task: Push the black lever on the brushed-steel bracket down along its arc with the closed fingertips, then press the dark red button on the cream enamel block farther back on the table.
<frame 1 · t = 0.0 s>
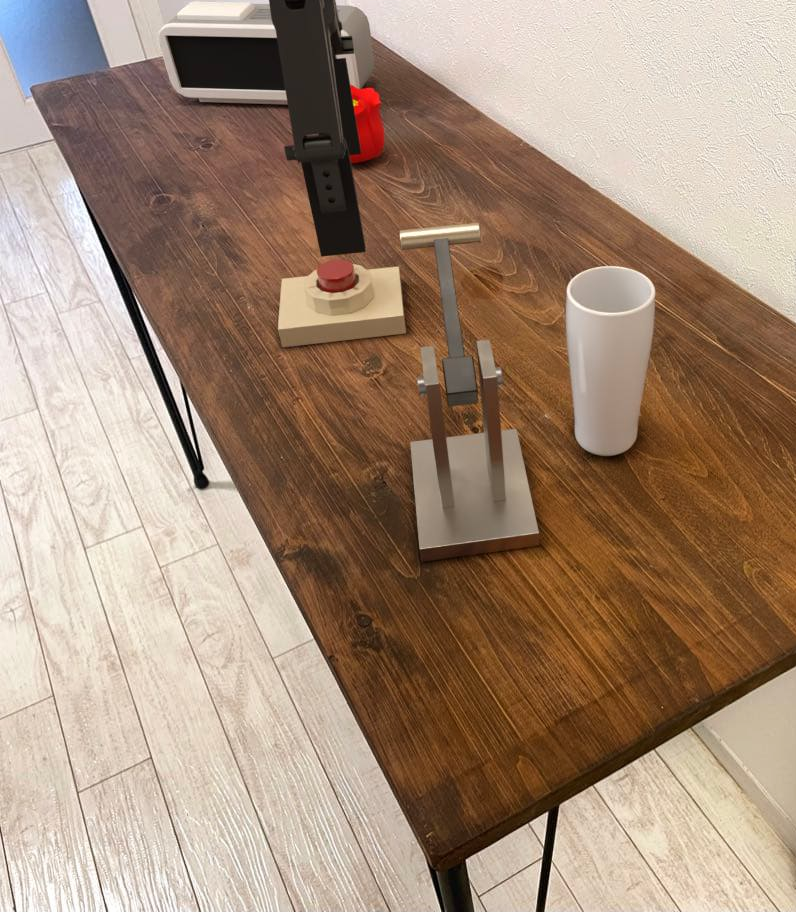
hand: (342, 199, 62), 24 cm above the table, tool pointing down, fingers open, 13 cm apart
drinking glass: (605, 439, 79), on the table
lever: (450, 310, 68), point 15 cm above the table, hinge at 28.0°
bracket: (472, 497, 74), on the table
flower: (358, 160, 119), on the table
button block: (344, 314, 93), on the table
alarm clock: (279, 96, 134), on the table
button: (336, 276, 90), point 4 cm above the table, slide at 0.1 cm
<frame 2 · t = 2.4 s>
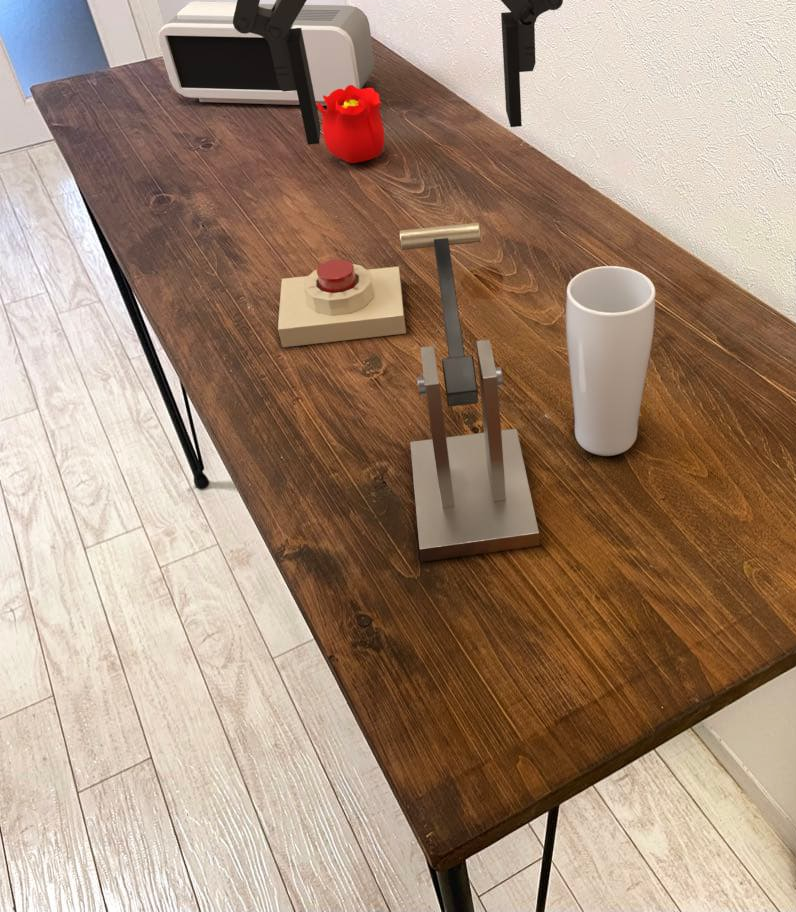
hand: (415, 127, 63), 26 cm above the table, tool pointing down, fingers open, 13 cm apart
nothing on the table moved.
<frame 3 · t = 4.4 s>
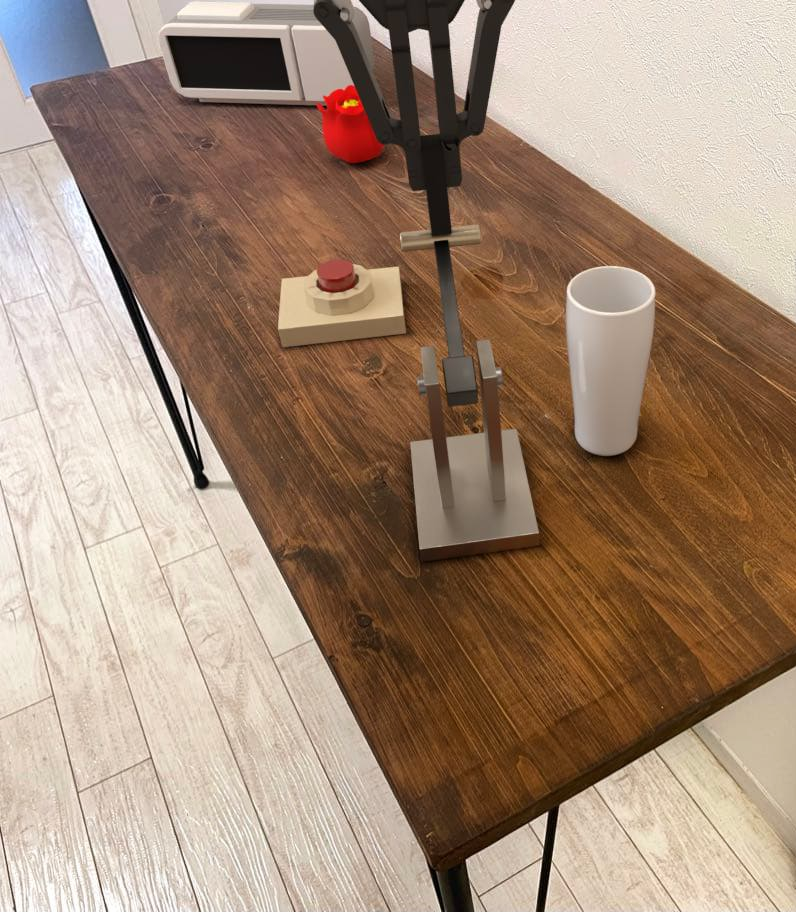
hand: (440, 225, 69), 18 cm above the table, tool pointing down, fingers closed
lever: (450, 311, 68), point 15 cm above the table, hinge at 26.7°, touching gripper
everything else where it was.
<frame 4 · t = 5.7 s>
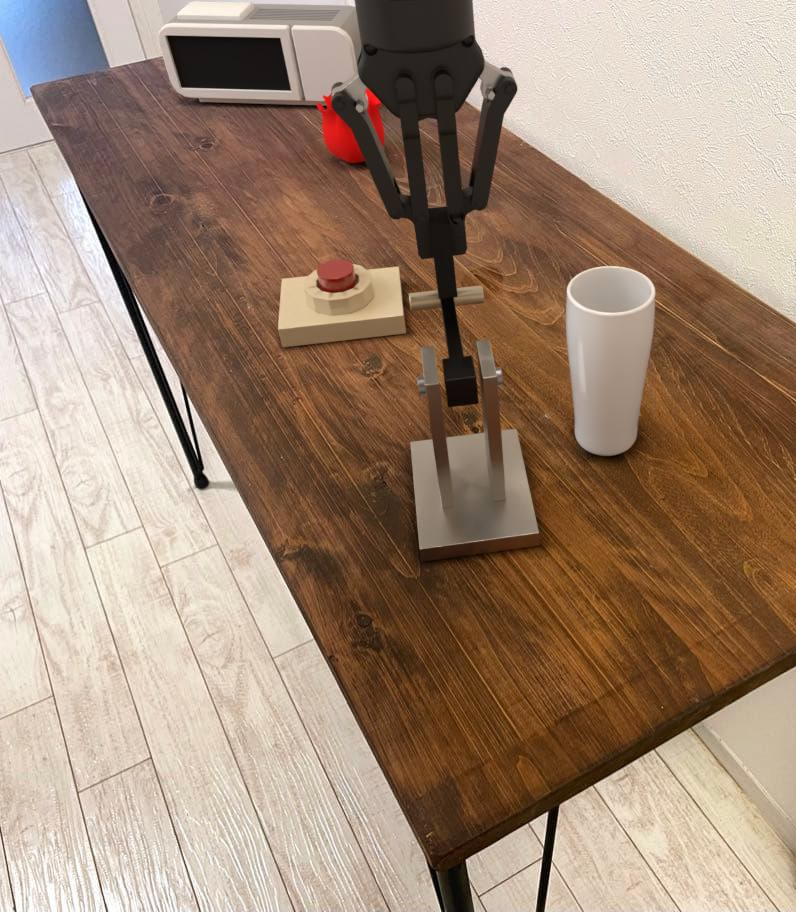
hand: (446, 288, 74), 12 cm above the table, tool pointing down, fingers closed
lever: (453, 339, 70), point 12 cm above the table, hinge at -3.9°, touching gripper
everything else where it was.
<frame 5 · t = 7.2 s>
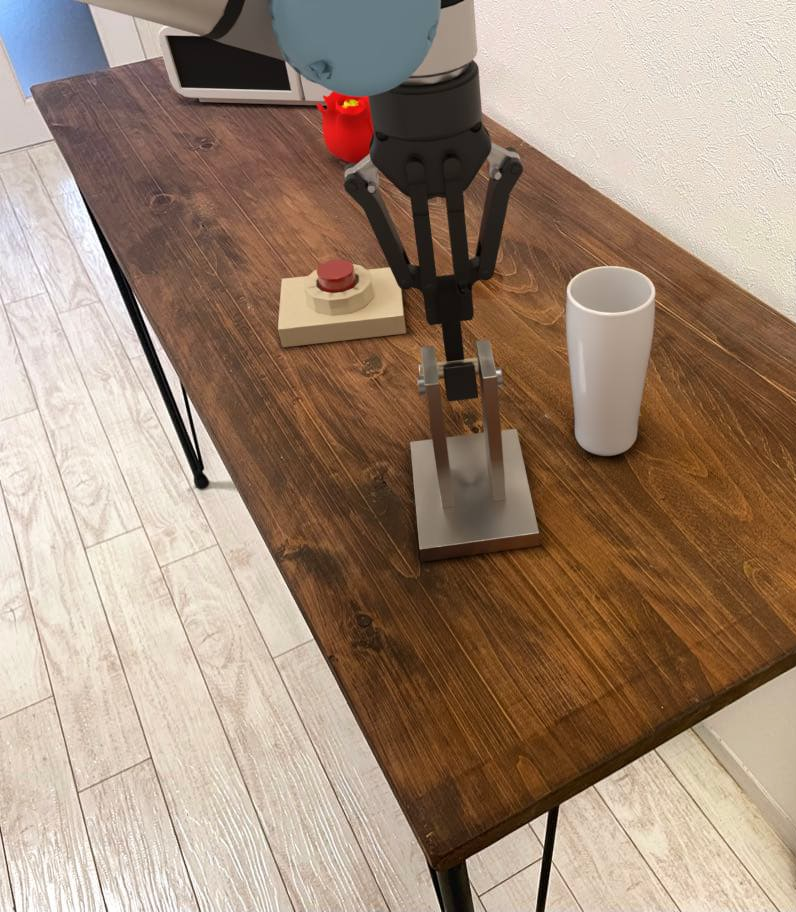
hand: (453, 350, 77), 7 cm above the table, tool pointing down, fingers closed
lever: (457, 374, 71), point 9 cm above the table, hinge at -33.2°, touching gripper
everything else where it was.
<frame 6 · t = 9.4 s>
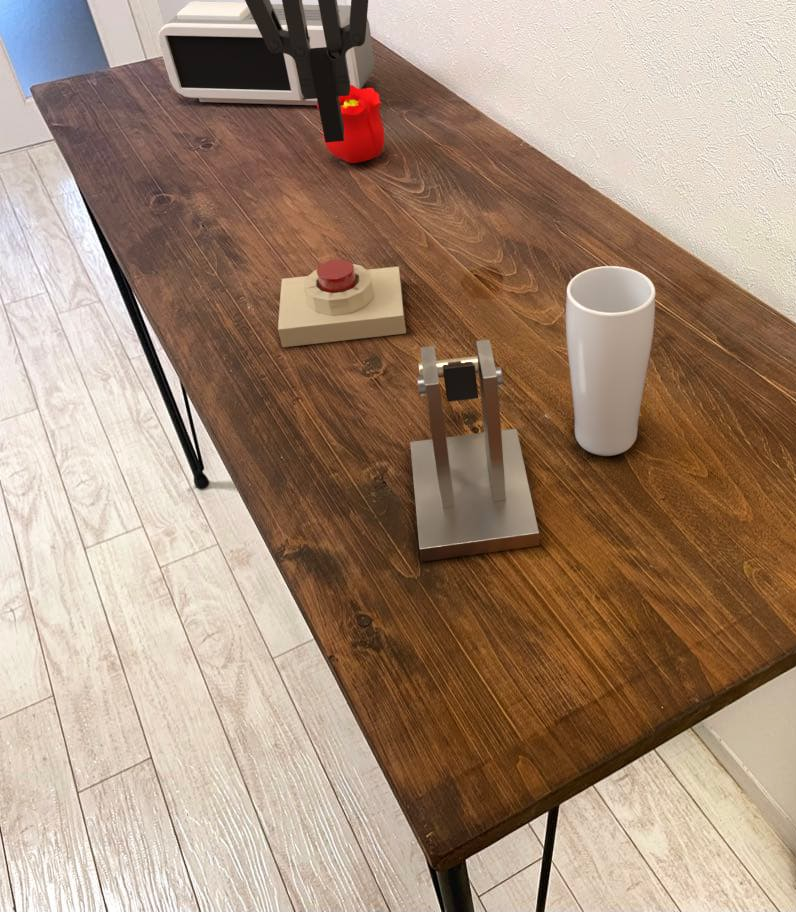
hand: (334, 134, 76), 21 cm above the table, tool pointing down, fingers closed
lever: (457, 374, 71), point 9 cm above the table, hinge at -32.6°
everything else where it was.
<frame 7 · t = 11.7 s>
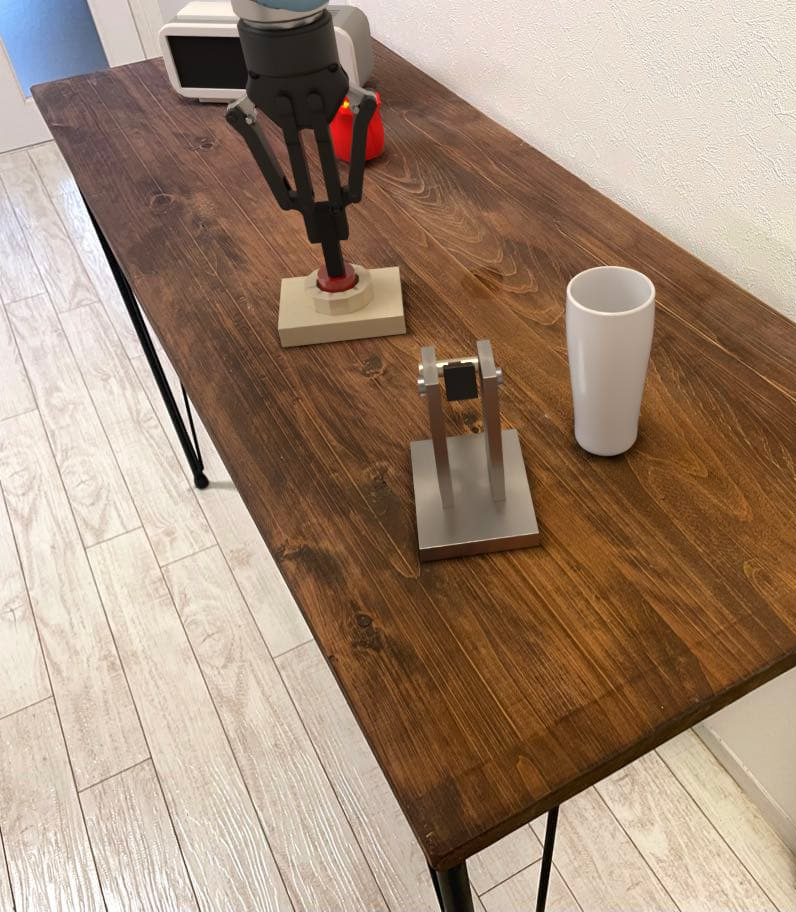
hand: (336, 268, 90), 5 cm above the table, tool pointing down, fingers closed
button: (337, 279, 90), point 4 cm above the table, slide at -0.2 cm, touching gripper
everything else where it was.
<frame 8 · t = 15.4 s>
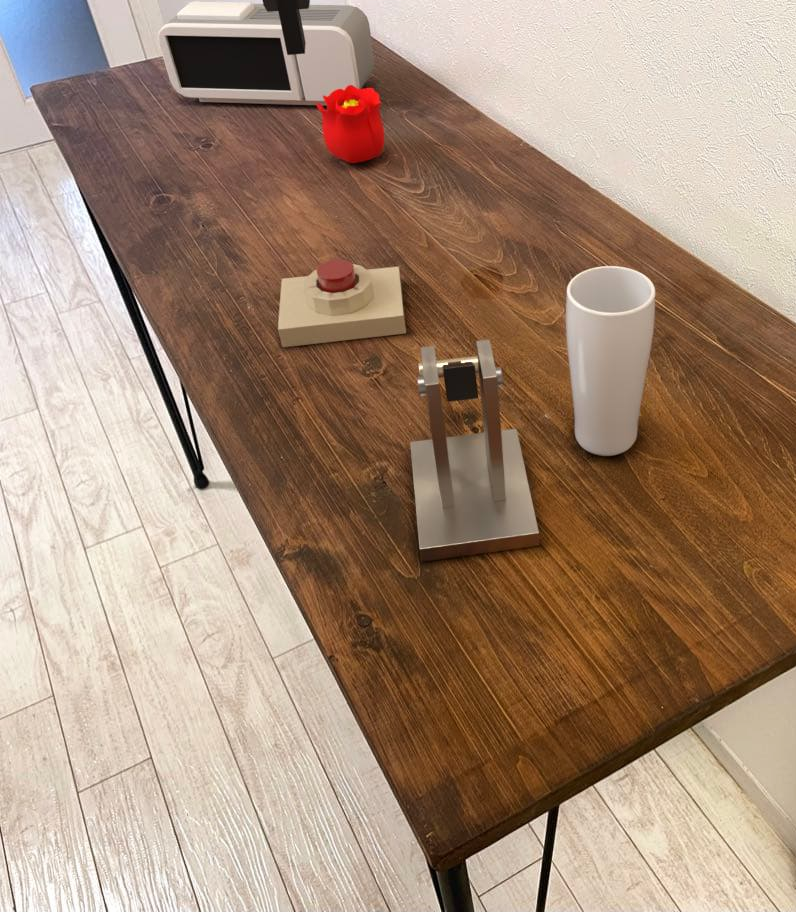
hand: (296, 48, 80), 24 cm above the table, tool pointing down, fingers closed
button: (336, 276, 90), point 4 cm above the table, slide at 0.1 cm
everything else where it was.
at the end: lever at -33° (first picture: +28°); button pushed in 1.0 cm at the most during the clip, back to where it started at the end; button slide at 0.1 cm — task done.
